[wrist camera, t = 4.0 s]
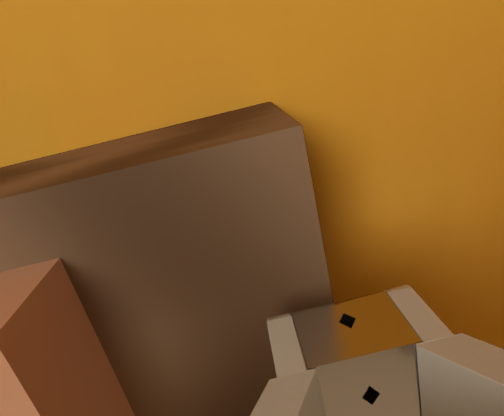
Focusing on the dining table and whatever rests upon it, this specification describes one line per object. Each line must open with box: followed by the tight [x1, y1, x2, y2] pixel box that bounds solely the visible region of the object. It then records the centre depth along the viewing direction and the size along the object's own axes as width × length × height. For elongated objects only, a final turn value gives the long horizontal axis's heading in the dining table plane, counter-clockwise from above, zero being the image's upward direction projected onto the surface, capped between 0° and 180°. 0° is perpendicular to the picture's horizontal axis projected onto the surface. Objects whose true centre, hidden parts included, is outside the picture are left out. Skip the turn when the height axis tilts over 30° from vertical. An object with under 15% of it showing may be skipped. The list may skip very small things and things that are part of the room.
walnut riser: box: [0, 102, 334, 416], centre depth 12 cm, size 19×15×5 cm
